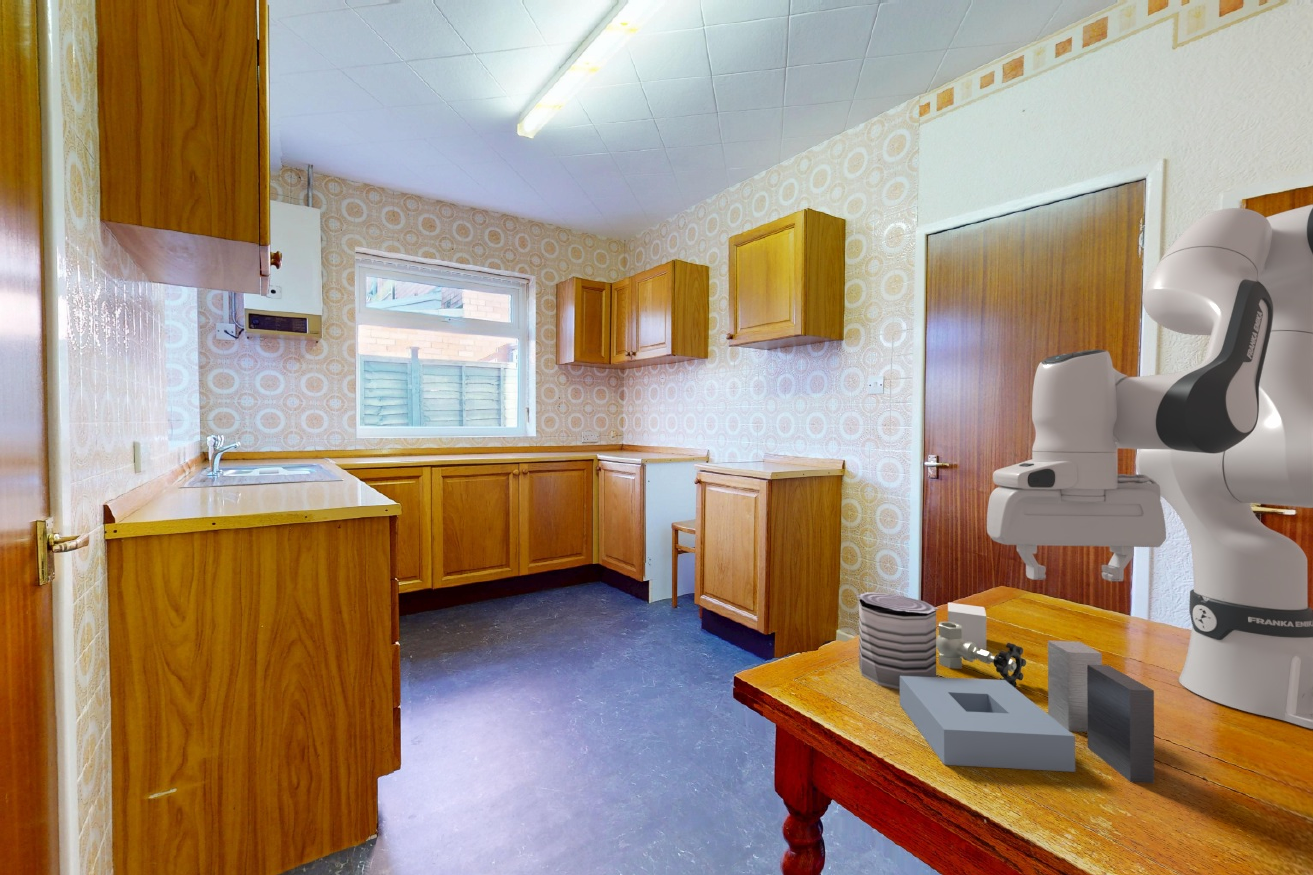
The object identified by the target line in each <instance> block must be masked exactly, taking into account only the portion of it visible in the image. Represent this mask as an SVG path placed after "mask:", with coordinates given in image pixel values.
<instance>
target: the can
mask: <svg viewBox="0 0 1313 875" xmlns="http://www.w3.org/2000/svg"><path fill="white" fill-rule="evenodd" d="M856 596H857V598H859V600H858V654H859V655H858V659H859V660H858V664H859V665H858V667H859V670H860V674H861V676H862V677H863V678H866V679H867V680H869V681H871V682H872V683H875V684H876V685H878V686H882V687H884V688H885V687H886V688H891V689H895V690H899V691H900V676H917V677H937V646H936V639H937V610H939V608H938V607H936V606H933V605H932V604H930V603H928V602H927V601H924V600H921V599H916V598H911V597H908V596H902V595H899V594H893V593H892V594H891V593H883V592H882V593H881V592H872V591H871V592H870V591H867V592H864V593H860V594H856Z"/></svg>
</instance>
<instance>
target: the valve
mask: <svg viewBox="0 0 1313 875" xmlns="http://www.w3.org/2000/svg"><path fill="white" fill-rule="evenodd" d="M1005 648H1007V649H1008V651H1006V650H1000V651H999V652H998V654H995V656H994V655H993V653H992V652H990V651H987V650H986V649H980V648H977V645H976V644H975V643H972V642H969V641H966V642H964V641H963V639H962V626H961V625H959V624H957V623H953V622H948V621H939V622H938V634H937V636H936V650H937V651H938V665H940V666H943V667H945V668H948V669H962V668H963V660H965V661H967V662H971V663H972V662H974V661H975V660H978V661H980V662H982V663H985V664H988V665H990V664H991V663H993V665H994V667H995V671H996V672H997V673H998V674H1000V676H1001V677H1002V678H1001V677H999V679H998V680H1006V681H1007V682H1008V683H1009V684H1011V685H1012V686H1013V687H1014V688H1016V689H1017V687H1018V686H1017V680H1018V681H1023V679H1024V673H1023V672H1022V667H1026V665H1027V660H1026V659H1025V658H1022V656H1021V655H1023V654H1024V648H1023V647H1022V646H1018V645H1016V644H1015V643H1011V642H1007V643H1006V645H1005ZM1011 658H1012V659H1011ZM1014 659H1015V660H1014ZM1009 672H1011V673H1012V674H1011V675H1010V674H1009Z"/></svg>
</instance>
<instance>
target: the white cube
mask: <svg viewBox="0 0 1313 875" xmlns="http://www.w3.org/2000/svg"><path fill="white" fill-rule="evenodd" d="M947 622H953V623H957V624H959V625H961V626H962V639H963V641H964V642H966V641H969V642H972V643H975V644H976V645H977V648H978V649H979V650H981V649H982V650H987V613H986V609H985V607H984V606H978V605H977V606H976V605H971V604H962V603H955V602H947Z"/></svg>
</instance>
